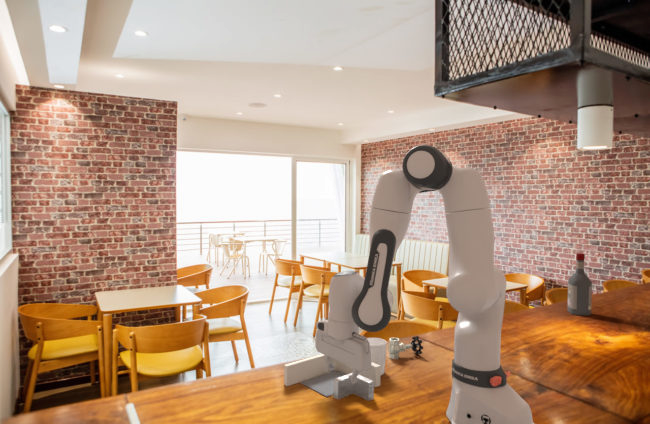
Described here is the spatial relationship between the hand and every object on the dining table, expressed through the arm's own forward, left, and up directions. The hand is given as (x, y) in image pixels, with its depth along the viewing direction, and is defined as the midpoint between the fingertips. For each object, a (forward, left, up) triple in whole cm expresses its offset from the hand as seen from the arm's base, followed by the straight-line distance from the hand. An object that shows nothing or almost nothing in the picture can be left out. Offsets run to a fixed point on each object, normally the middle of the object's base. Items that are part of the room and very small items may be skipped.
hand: (341, 376), depth 124 cm
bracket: (-4, -1, -5) cm, 6 cm away
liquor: (-8, -155, -5) cm, 155 cm away
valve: (+9, -38, -5) cm, 40 cm away
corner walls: (+6, -2, -5) cm, 8 cm away
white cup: (+5, -19, -5) cm, 20 cm away
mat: (+7, -3, -5) cm, 9 cm away
